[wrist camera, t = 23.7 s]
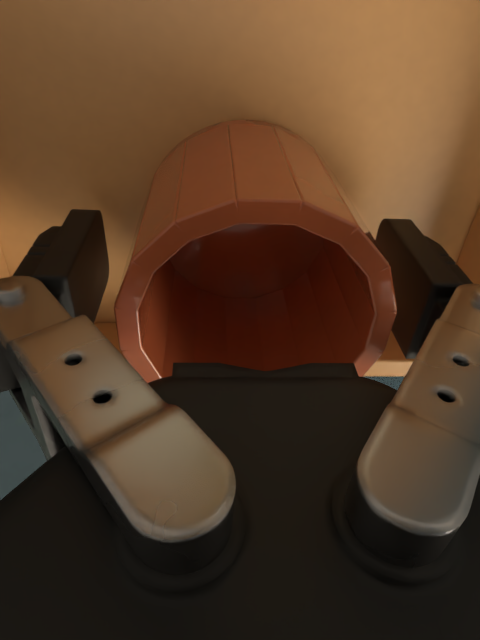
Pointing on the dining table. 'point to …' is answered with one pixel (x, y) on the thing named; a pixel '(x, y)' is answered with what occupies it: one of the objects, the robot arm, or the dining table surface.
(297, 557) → the robot arm
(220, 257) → the terracotta cup
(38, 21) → the serving tray
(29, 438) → the dining table surface
